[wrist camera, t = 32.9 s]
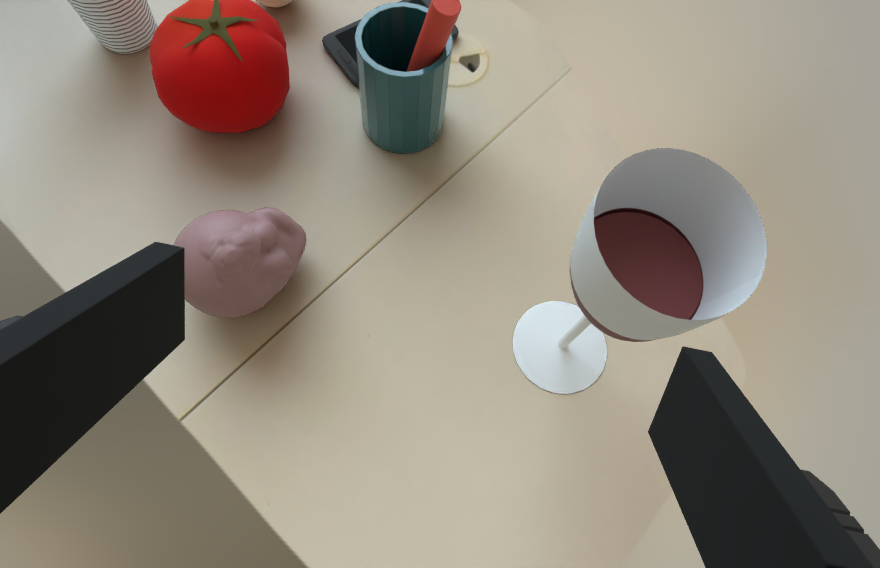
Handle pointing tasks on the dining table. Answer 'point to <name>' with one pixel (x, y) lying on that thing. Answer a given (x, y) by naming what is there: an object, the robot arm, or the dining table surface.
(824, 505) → the robot arm
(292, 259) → the figurine
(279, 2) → the egg
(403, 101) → the teal pencil holder
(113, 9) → the cup
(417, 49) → the red round dowel
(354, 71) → the cell phone
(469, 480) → the dining table surface
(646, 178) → the wineglass
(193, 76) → the tomato
